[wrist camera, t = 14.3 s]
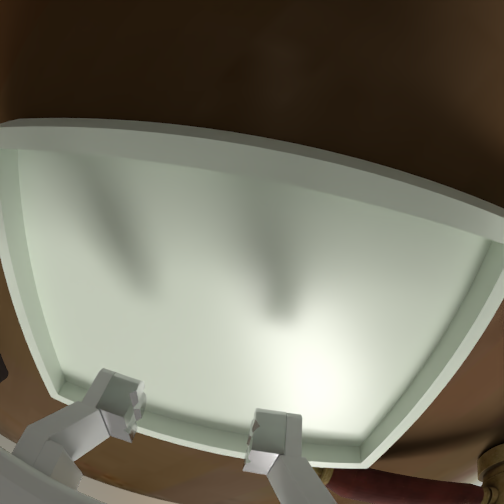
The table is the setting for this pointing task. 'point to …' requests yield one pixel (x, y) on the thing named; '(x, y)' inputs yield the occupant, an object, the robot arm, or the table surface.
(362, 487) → the gavel
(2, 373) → the phone stand
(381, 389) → the sage tray
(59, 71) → the table surface
